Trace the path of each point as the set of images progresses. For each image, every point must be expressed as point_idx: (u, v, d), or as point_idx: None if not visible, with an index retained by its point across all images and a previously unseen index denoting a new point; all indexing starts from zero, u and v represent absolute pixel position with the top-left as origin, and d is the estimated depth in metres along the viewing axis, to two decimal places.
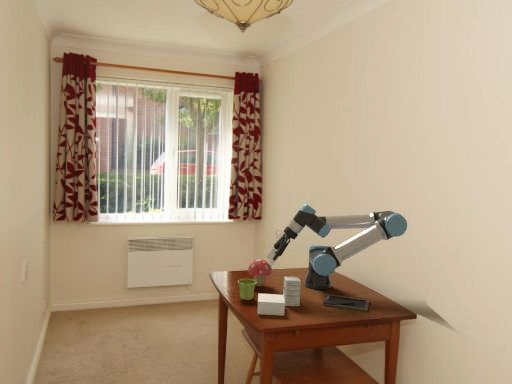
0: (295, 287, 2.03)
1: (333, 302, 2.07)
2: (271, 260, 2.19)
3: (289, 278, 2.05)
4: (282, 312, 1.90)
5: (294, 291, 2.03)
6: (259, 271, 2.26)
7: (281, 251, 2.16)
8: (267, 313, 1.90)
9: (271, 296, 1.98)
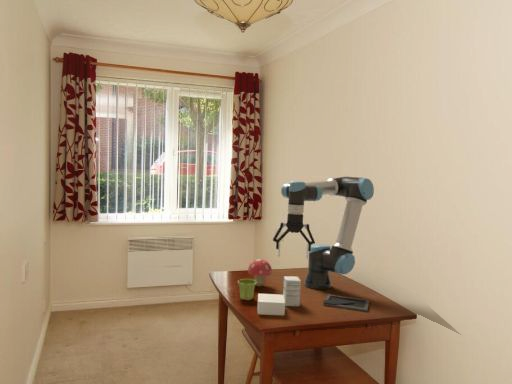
0: (295, 287, 2.03)
1: (333, 302, 2.07)
2: None
3: (289, 278, 2.05)
4: (282, 312, 1.90)
5: (294, 291, 2.03)
6: (259, 271, 2.26)
7: None
8: (267, 313, 1.90)
9: (271, 296, 1.98)
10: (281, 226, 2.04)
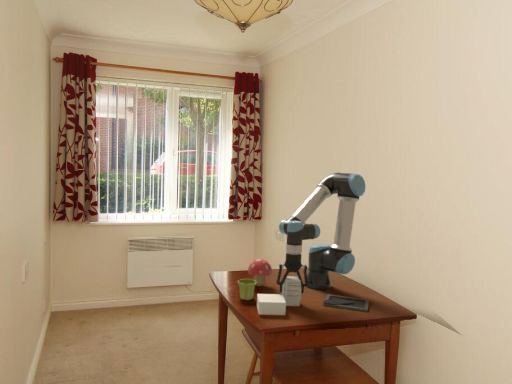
0: (295, 286, 2.02)
1: (333, 303, 2.07)
2: (300, 295, 2.06)
3: (289, 278, 2.05)
4: (283, 312, 1.90)
5: (294, 291, 2.03)
6: (259, 271, 2.26)
7: (307, 280, 2.06)
8: (268, 313, 1.90)
9: (270, 296, 1.98)
10: (280, 268, 2.04)
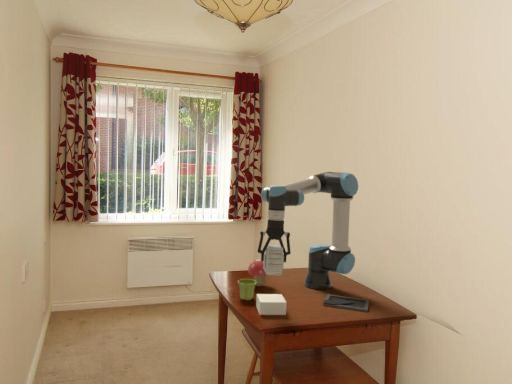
0: (277, 254, 1.91)
1: (333, 303, 2.06)
2: None
3: (271, 246, 1.93)
4: (284, 312, 1.91)
5: (276, 259, 1.91)
6: (259, 271, 2.26)
7: None
8: (269, 313, 1.90)
9: (270, 296, 1.98)
10: (261, 235, 1.93)
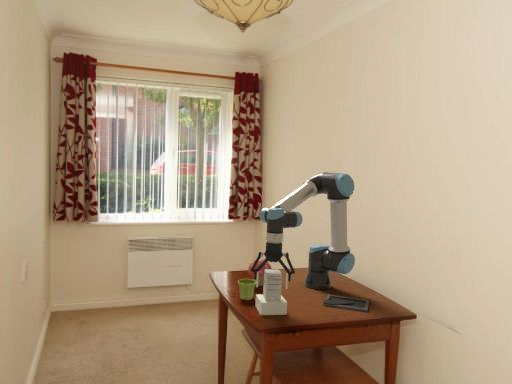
0: (276, 280, 1.91)
1: (333, 303, 2.06)
2: (287, 283, 1.94)
3: (270, 271, 1.94)
4: (284, 311, 1.91)
5: (275, 284, 1.92)
6: (259, 271, 2.26)
7: (293, 268, 1.95)
8: (270, 314, 1.90)
9: None
10: (259, 255, 1.93)
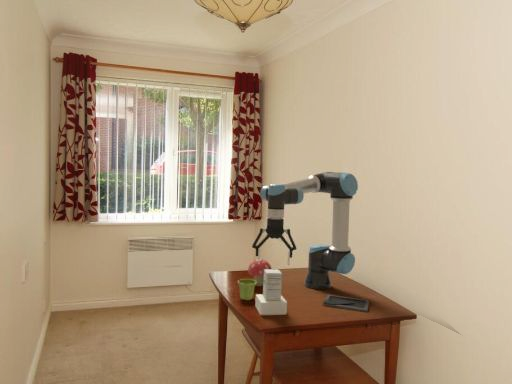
0: (276, 280, 1.92)
1: (333, 303, 2.06)
2: None
3: (270, 271, 1.94)
4: (284, 311, 1.91)
5: (275, 284, 1.92)
6: (259, 271, 2.26)
7: (294, 244, 1.94)
8: (270, 313, 1.90)
9: None
10: (260, 232, 1.93)
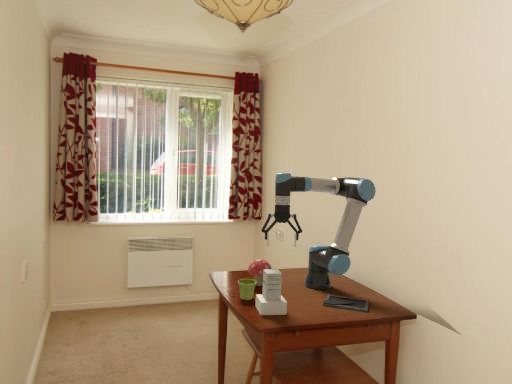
0: (276, 280, 1.92)
1: (333, 303, 2.06)
2: None
3: (269, 271, 1.94)
4: (284, 311, 1.91)
5: (275, 284, 1.92)
6: (259, 271, 2.26)
7: (300, 227, 2.11)
8: (270, 313, 1.90)
9: None
10: (269, 217, 2.09)
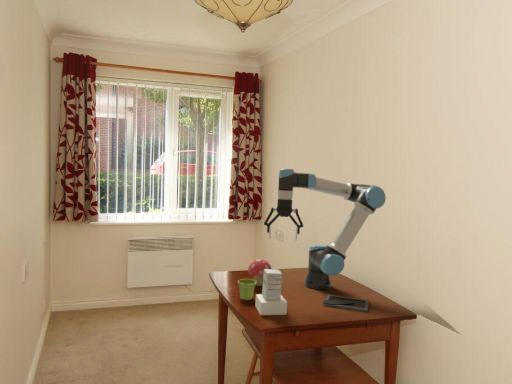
0: (276, 280, 1.92)
1: (333, 303, 2.06)
2: None
3: (270, 271, 1.94)
4: (284, 311, 1.91)
5: (275, 284, 1.92)
6: (259, 271, 2.26)
7: (301, 222, 2.18)
8: (270, 313, 1.90)
9: None
10: (271, 211, 2.17)
